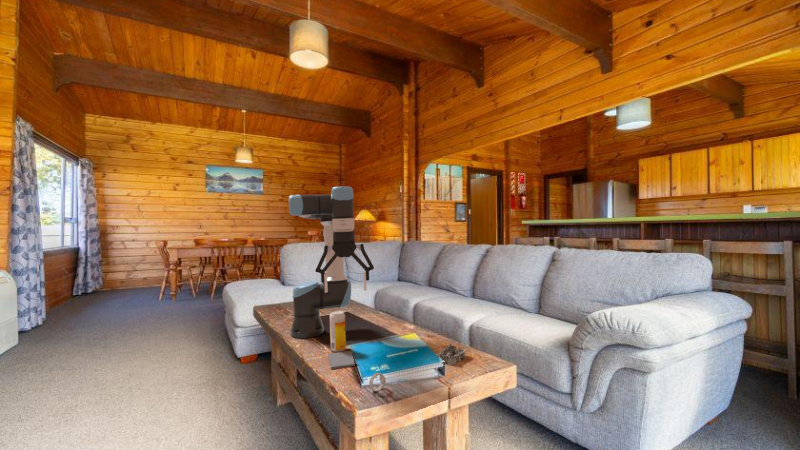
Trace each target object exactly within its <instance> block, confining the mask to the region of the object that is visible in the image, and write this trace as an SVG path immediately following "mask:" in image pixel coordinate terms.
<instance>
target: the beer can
mask: <svg viewBox="0 0 800 450" xmlns="http://www.w3.org/2000/svg"><path fill="white" fill-rule="evenodd" d="M346 334H347V333H346V314H345V312H344V310H335V311H331V312H330V314H329V338H330V349H331V350H332V351H333V353H339V352H344V351H345V349H346V348H347V337H346V336H347V335H346Z"/></svg>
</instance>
